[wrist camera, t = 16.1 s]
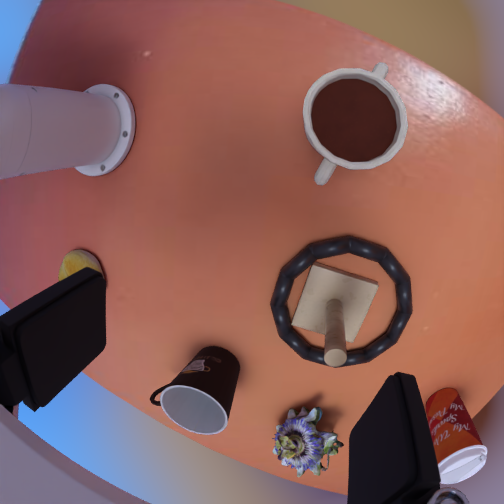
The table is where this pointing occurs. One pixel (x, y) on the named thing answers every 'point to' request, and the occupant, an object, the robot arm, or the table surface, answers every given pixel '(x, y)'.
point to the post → (334, 308)
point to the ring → (329, 250)
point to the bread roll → (77, 263)
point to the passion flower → (304, 441)
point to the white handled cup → (354, 120)
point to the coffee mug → (202, 392)
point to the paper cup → (454, 437)
